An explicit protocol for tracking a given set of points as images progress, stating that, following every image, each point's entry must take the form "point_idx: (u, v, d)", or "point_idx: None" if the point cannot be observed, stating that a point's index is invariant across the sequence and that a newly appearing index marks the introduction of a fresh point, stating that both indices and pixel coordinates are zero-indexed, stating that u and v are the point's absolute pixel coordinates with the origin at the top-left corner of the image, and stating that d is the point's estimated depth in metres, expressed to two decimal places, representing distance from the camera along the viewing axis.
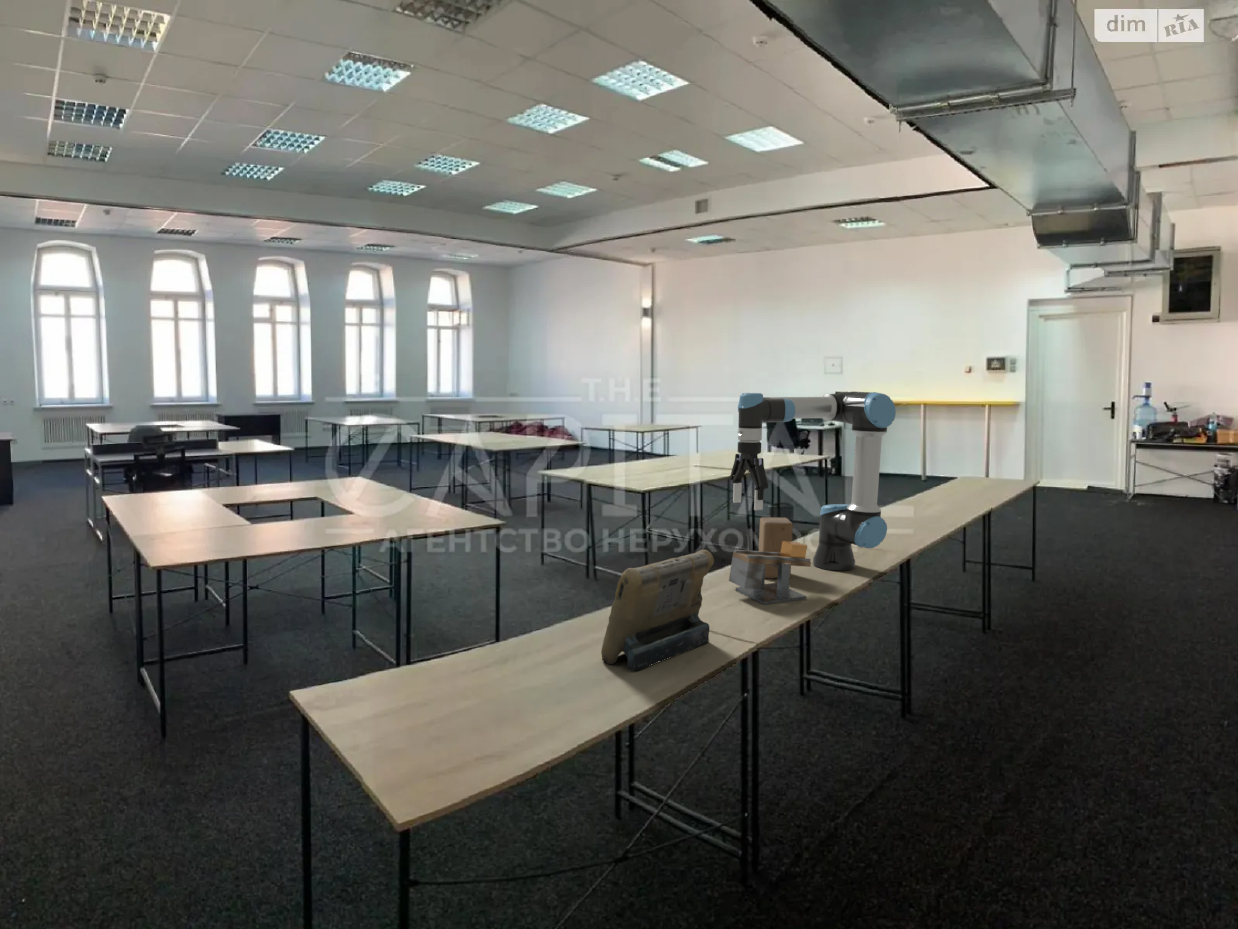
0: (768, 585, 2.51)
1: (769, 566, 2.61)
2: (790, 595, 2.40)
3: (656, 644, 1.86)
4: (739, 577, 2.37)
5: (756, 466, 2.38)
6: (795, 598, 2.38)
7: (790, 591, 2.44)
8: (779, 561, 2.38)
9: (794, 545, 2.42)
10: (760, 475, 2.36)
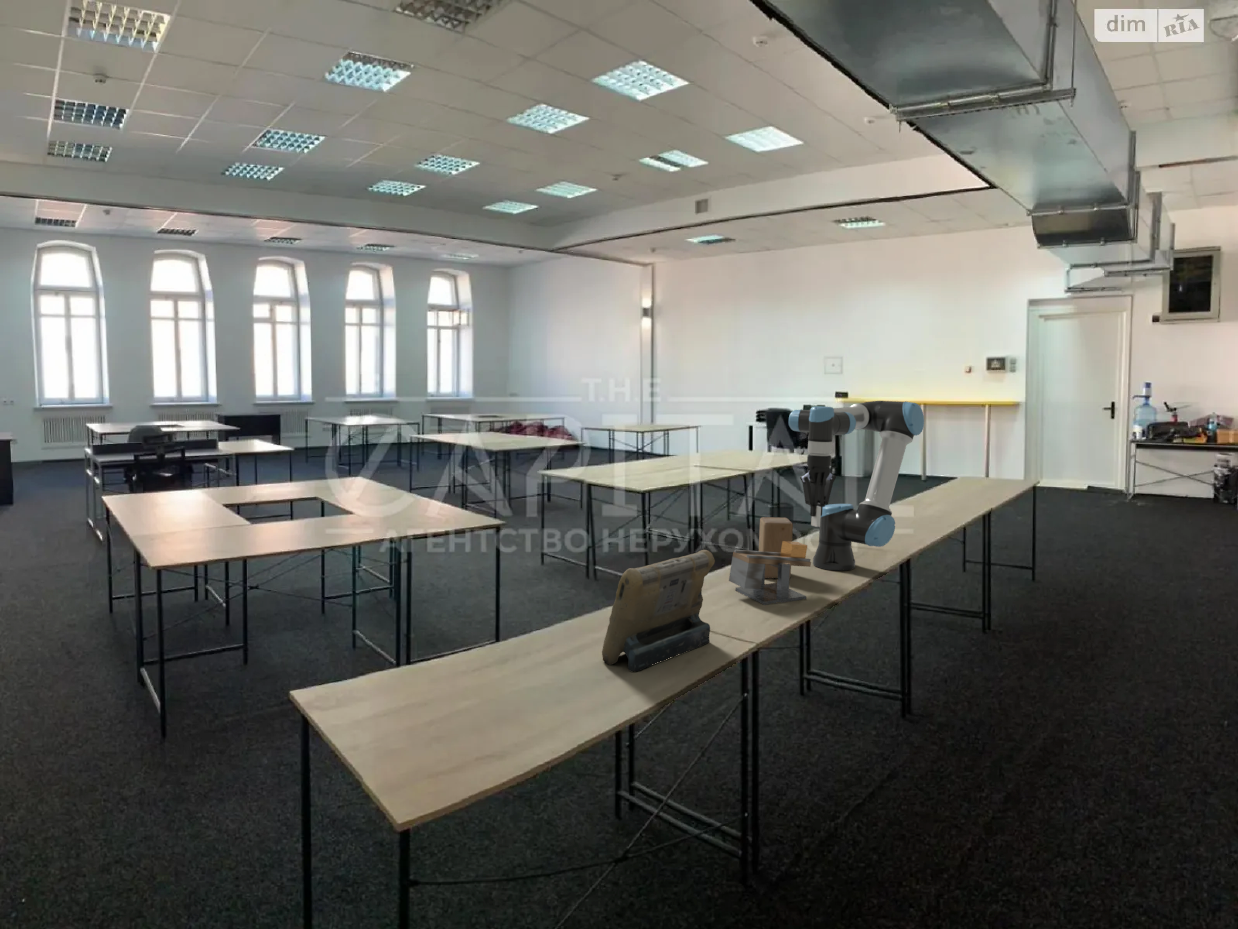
0: (768, 585, 2.51)
1: (769, 566, 2.61)
2: (790, 595, 2.40)
3: (656, 644, 1.85)
4: (739, 577, 2.37)
5: None
6: (795, 598, 2.38)
7: (790, 591, 2.44)
8: (779, 561, 2.38)
9: (794, 545, 2.42)
10: (804, 492, 2.45)
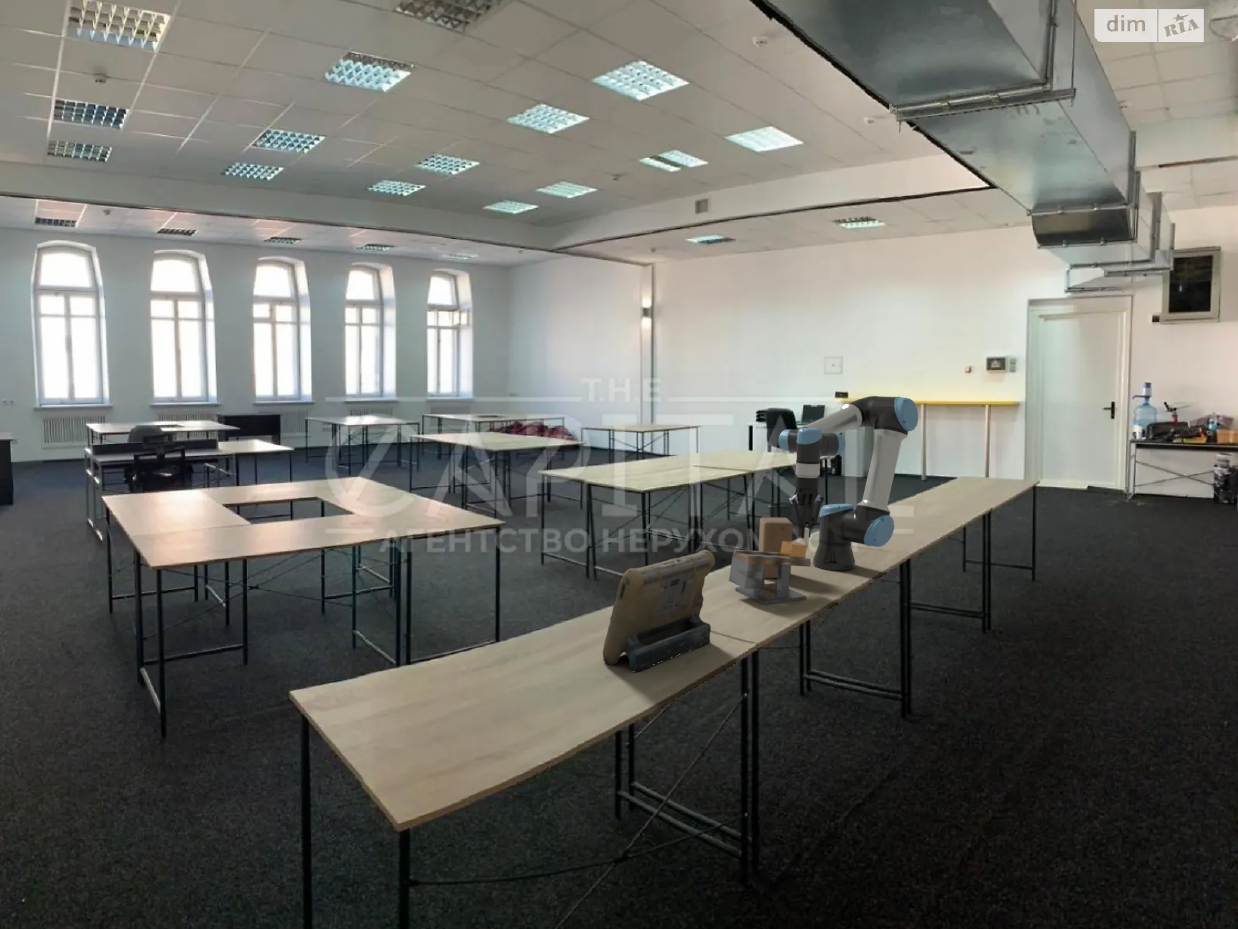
0: (768, 585, 2.51)
1: (769, 566, 2.61)
2: (790, 595, 2.40)
3: (657, 644, 1.85)
4: (739, 577, 2.37)
5: None
6: (795, 598, 2.38)
7: (790, 591, 2.44)
8: (779, 561, 2.38)
9: (794, 545, 2.42)
10: (792, 514, 2.44)
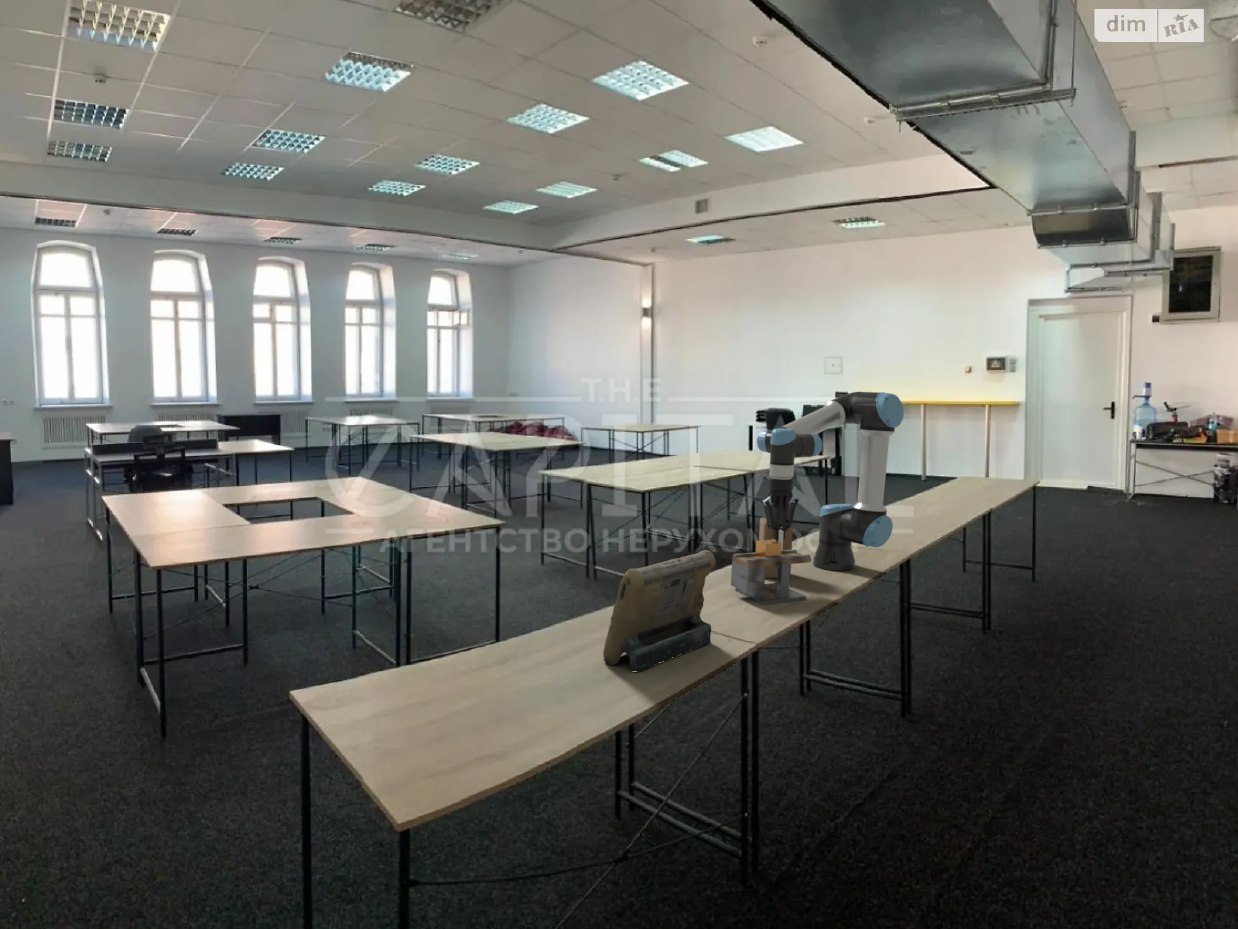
0: (768, 585, 2.51)
1: (769, 566, 2.61)
2: (790, 595, 2.40)
3: (658, 645, 1.85)
4: (741, 581, 2.37)
5: None
6: (795, 598, 2.38)
7: (790, 591, 2.44)
8: (779, 561, 2.38)
9: (768, 545, 2.38)
10: (766, 516, 2.40)
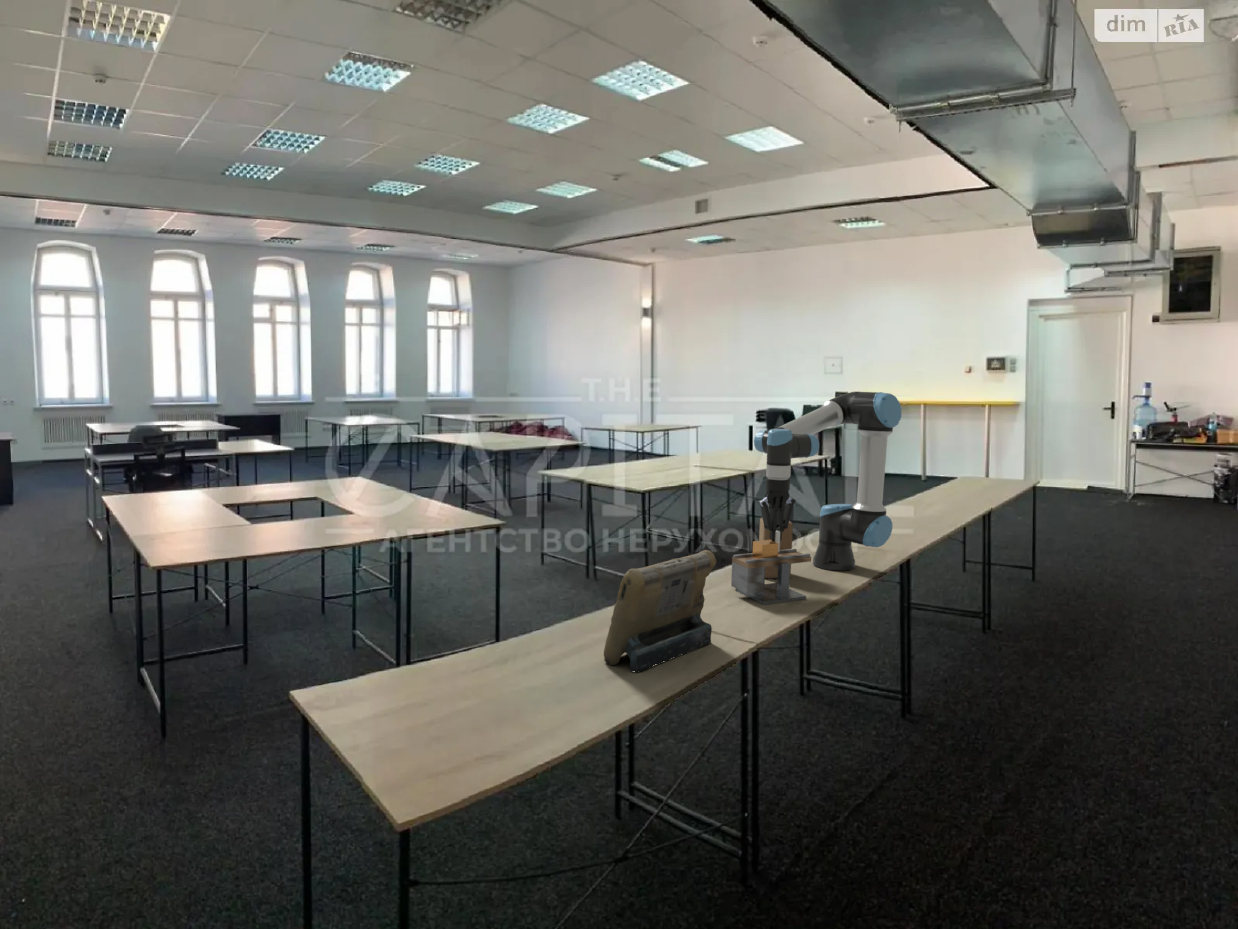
0: (768, 585, 2.51)
1: (769, 566, 2.61)
2: (790, 595, 2.40)
3: (658, 645, 1.85)
4: (741, 582, 2.37)
5: None
6: (795, 598, 2.38)
7: (790, 591, 2.44)
8: (779, 561, 2.38)
9: (765, 545, 2.37)
10: (763, 517, 2.40)
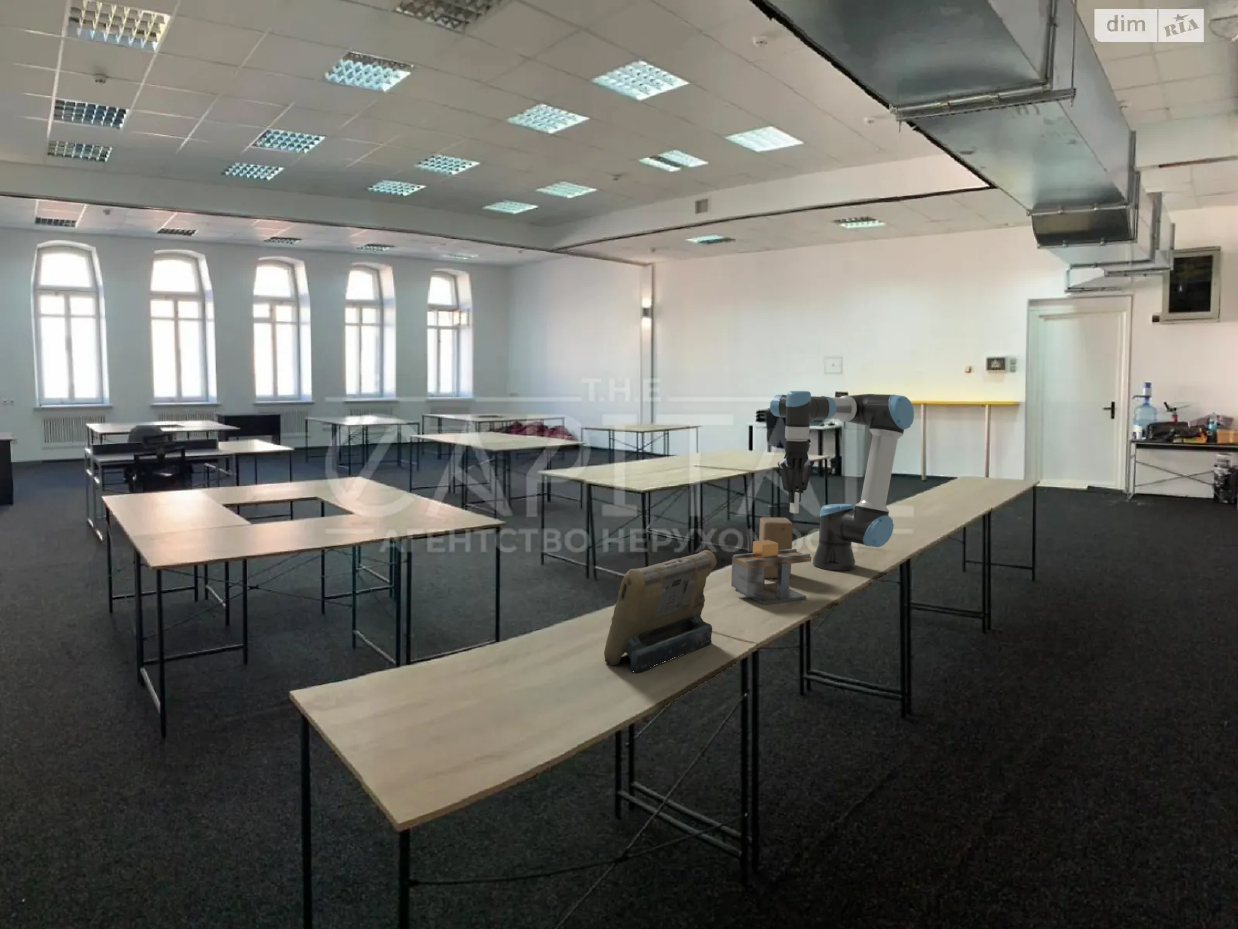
0: (768, 585, 2.51)
1: (769, 566, 2.61)
2: (790, 595, 2.40)
3: (659, 645, 1.85)
4: (741, 582, 2.37)
5: None
6: (795, 598, 2.38)
7: (790, 591, 2.44)
8: (779, 561, 2.38)
9: (765, 545, 2.37)
10: (782, 478, 2.41)
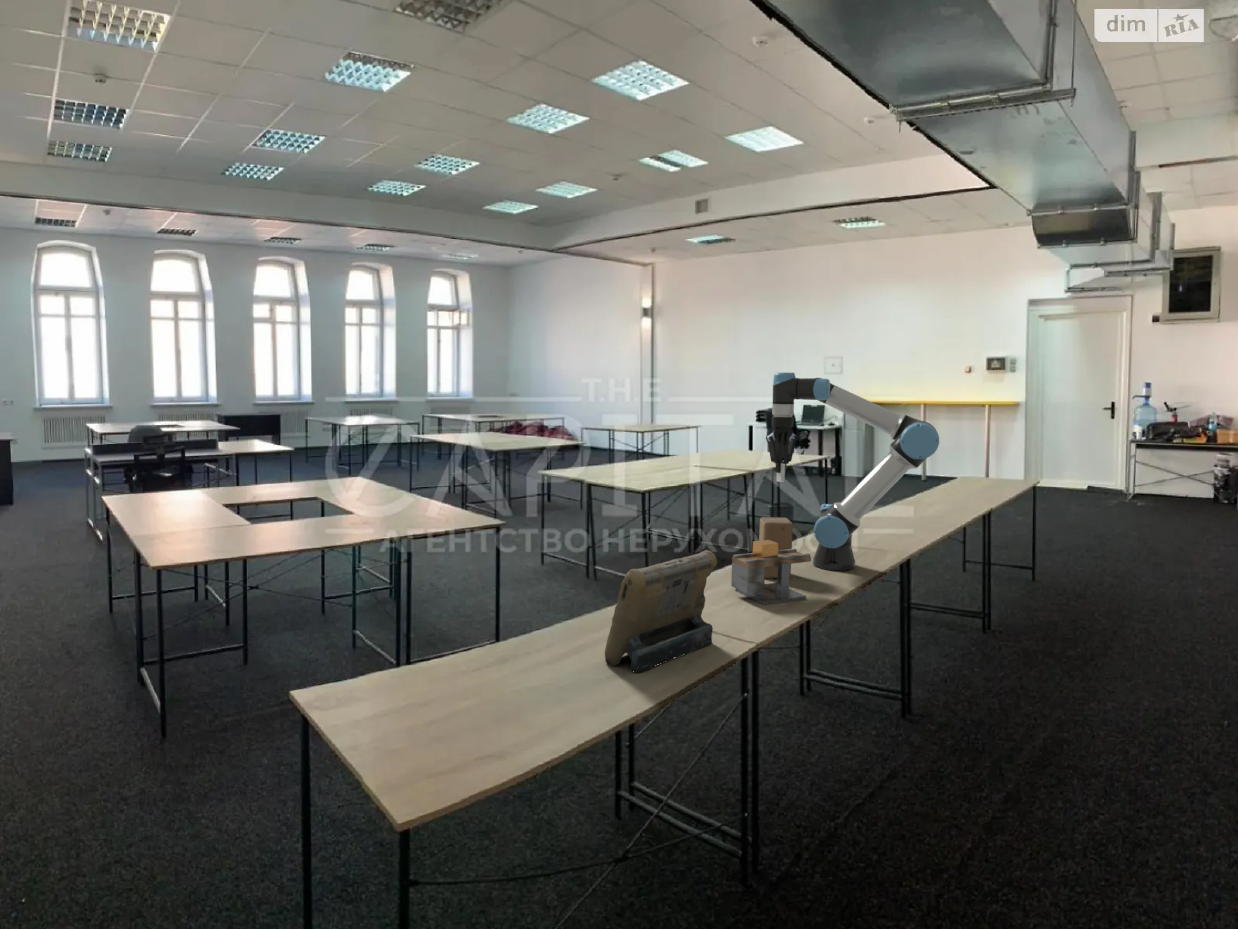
0: (768, 585, 2.51)
1: (769, 566, 2.61)
2: (790, 595, 2.40)
3: (659, 645, 1.85)
4: (741, 582, 2.37)
5: None
6: (795, 598, 2.38)
7: (790, 591, 2.44)
8: (779, 561, 2.38)
9: (765, 545, 2.37)
10: (770, 451, 2.69)
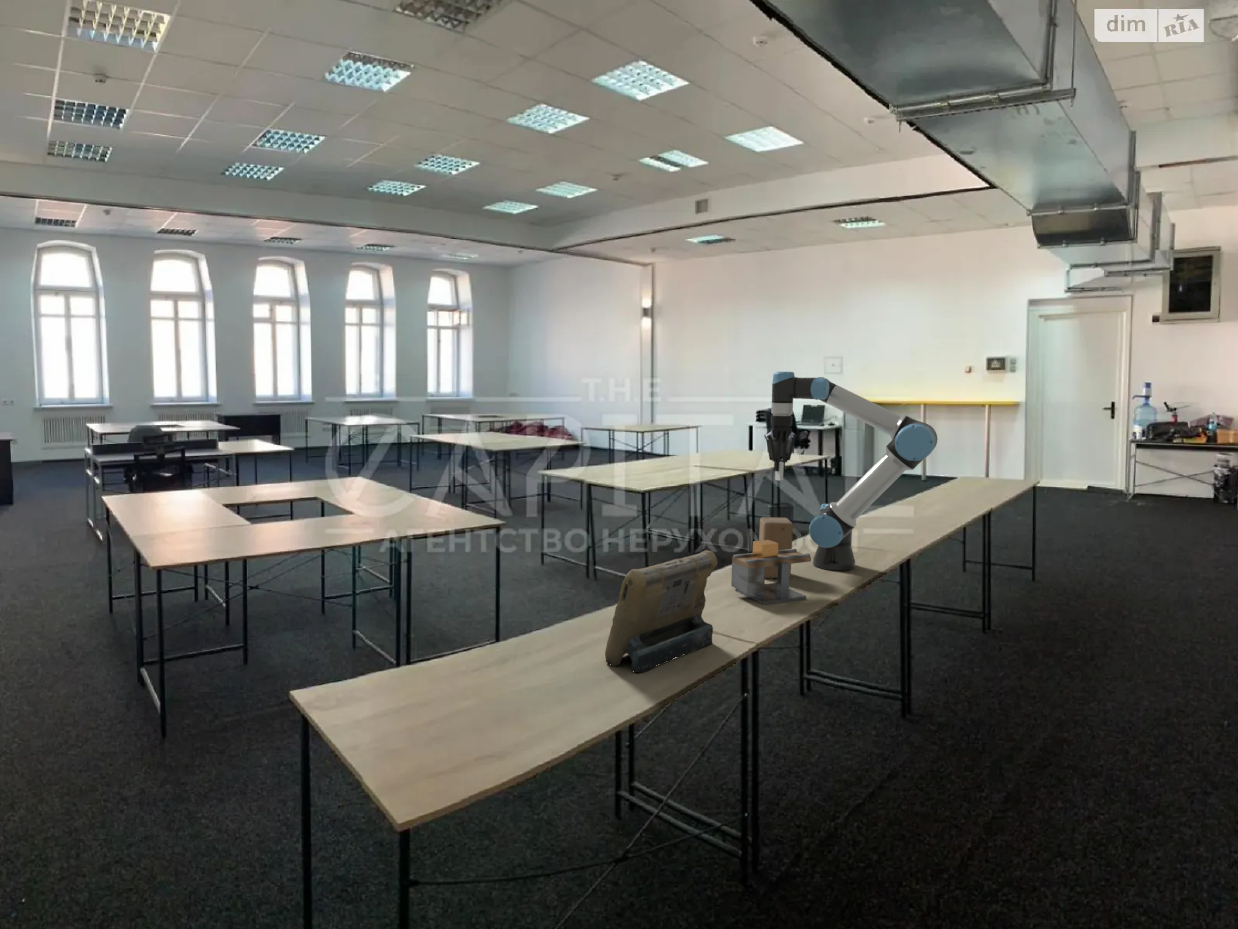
0: (768, 585, 2.51)
1: (769, 566, 2.61)
2: (790, 595, 2.40)
3: (660, 645, 1.85)
4: (741, 582, 2.37)
5: None
6: (795, 598, 2.38)
7: (790, 591, 2.44)
8: (779, 561, 2.38)
9: (765, 545, 2.37)
10: (768, 449, 2.71)
